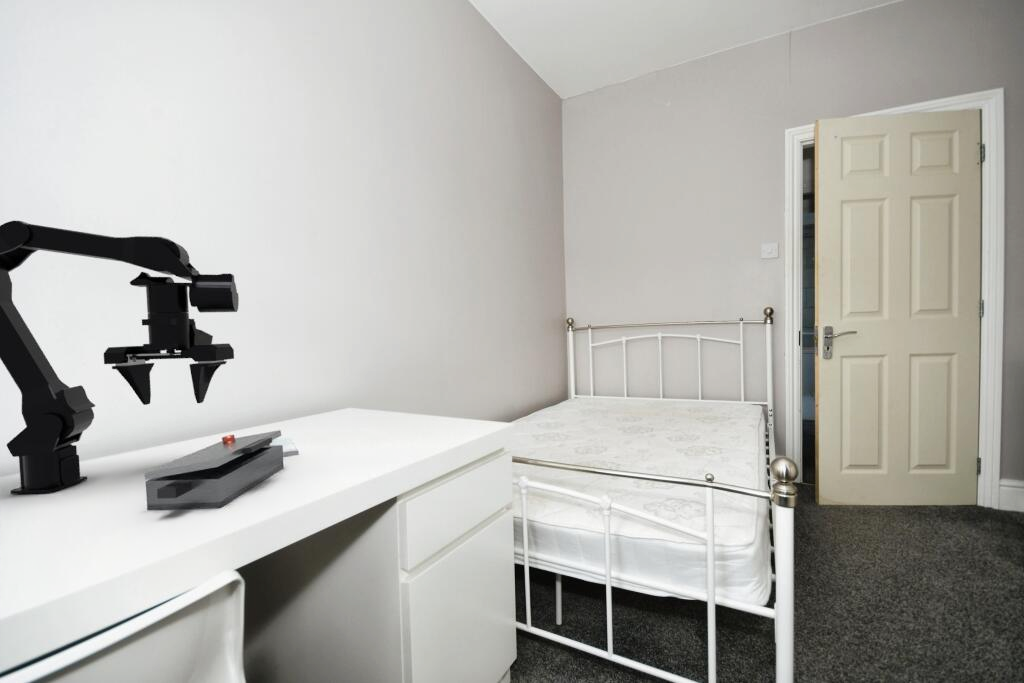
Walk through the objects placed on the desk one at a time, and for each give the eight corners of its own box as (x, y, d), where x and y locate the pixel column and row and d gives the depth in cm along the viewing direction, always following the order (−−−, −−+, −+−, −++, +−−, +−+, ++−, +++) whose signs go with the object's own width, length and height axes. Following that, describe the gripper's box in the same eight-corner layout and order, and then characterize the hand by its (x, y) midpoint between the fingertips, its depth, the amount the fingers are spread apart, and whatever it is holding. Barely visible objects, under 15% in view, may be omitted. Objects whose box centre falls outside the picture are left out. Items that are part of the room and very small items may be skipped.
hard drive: (246, 443, 97) (250, 456, 86) (290, 437, 101) (298, 449, 91) (246, 451, 97) (250, 465, 86) (290, 444, 101) (298, 457, 91)
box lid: (145, 479, 64) (142, 465, 64) (225, 445, 82) (223, 434, 82) (228, 464, 64) (225, 450, 64) (289, 434, 82) (287, 423, 82)
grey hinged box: (129, 518, 61) (127, 488, 61) (236, 464, 85) (235, 442, 85) (206, 516, 61) (204, 486, 61) (291, 462, 85) (290, 440, 85)
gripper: (249, 312, 88) (253, 395, 89) (150, 315, 88) (154, 397, 89) (211, 311, 77) (216, 405, 78) (98, 314, 77) (103, 408, 78)
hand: (173, 403), depth 81 cm, fingers open, 9 cm apart
